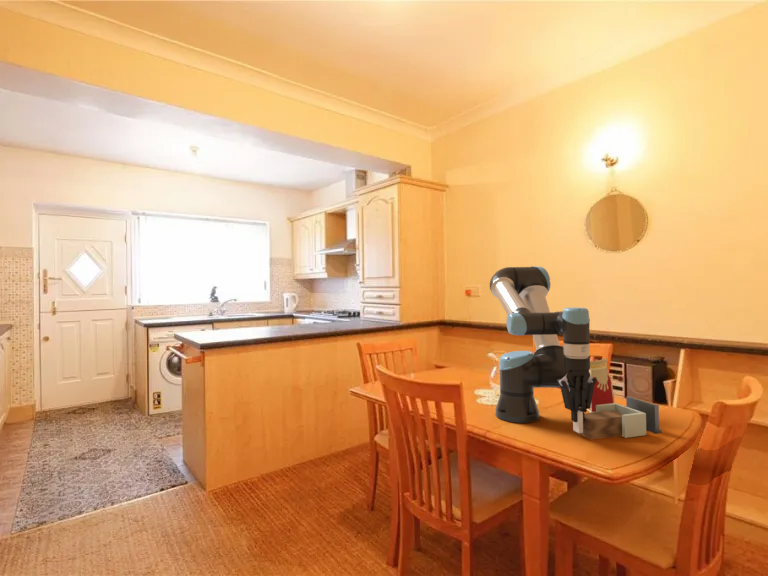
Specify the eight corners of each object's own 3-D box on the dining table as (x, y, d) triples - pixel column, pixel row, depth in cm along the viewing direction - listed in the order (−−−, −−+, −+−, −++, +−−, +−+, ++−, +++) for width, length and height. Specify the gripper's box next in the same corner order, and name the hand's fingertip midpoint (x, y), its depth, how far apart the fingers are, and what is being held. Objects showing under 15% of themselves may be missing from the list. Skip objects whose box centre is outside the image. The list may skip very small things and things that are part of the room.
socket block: (625, 437, 125) (624, 415, 125) (596, 425, 137) (595, 405, 137) (646, 434, 127) (645, 413, 127) (615, 422, 139) (615, 402, 138)
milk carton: (613, 408, 154) (612, 356, 154) (615, 416, 146) (614, 360, 146) (586, 406, 158) (585, 355, 158) (587, 413, 150) (586, 359, 149)
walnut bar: (590, 439, 125) (589, 420, 125) (577, 432, 131) (576, 414, 131) (628, 434, 128) (628, 415, 128) (613, 428, 134) (613, 410, 134)
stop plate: (655, 433, 128) (654, 405, 128) (626, 422, 139) (626, 396, 139) (661, 432, 129) (661, 404, 129) (632, 421, 140) (632, 395, 140)
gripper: (566, 359, 122) (568, 438, 122) (603, 357, 125) (604, 433, 125) (551, 356, 130) (552, 429, 130) (585, 353, 133) (587, 425, 133)
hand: (578, 431), depth 127 cm, fingers closed
